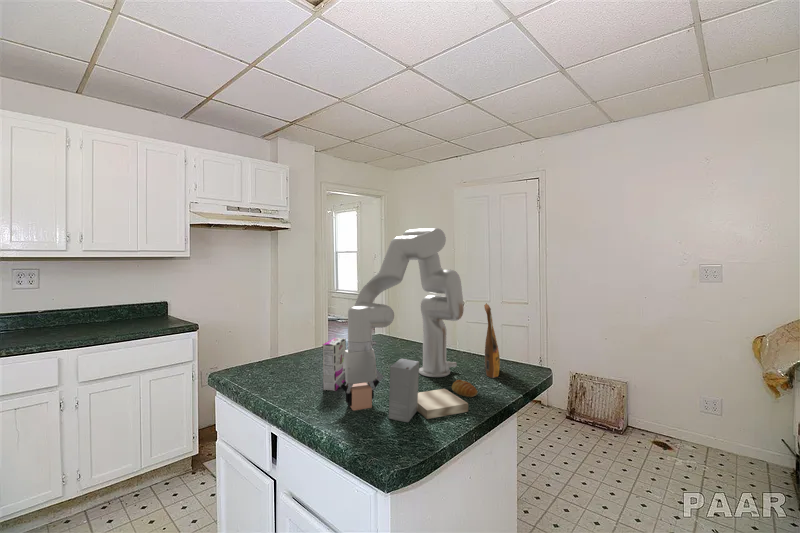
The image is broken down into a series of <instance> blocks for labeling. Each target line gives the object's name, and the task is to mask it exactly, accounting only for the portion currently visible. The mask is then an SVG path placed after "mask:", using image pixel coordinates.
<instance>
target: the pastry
mask: <svg viewBox="0 0 800 533" xmlns="http://www.w3.org/2000/svg"><path fill="white" fill-rule="evenodd" d="M451 390H452V391H453V392H452V393H455V395H456V394H457V395H458V396H459V395H460V396H463V397H466V398H473V397H475V396H477V395H478V392H479V391H478V389H476V387H475V386H474V385H473V384H472V383H470V382H468V381H465V380H462V379H456V380H455V381H453V383H452V385H451Z"/></svg>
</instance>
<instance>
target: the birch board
mask: <svg viewBox="0 0 800 533" xmlns="http://www.w3.org/2000/svg"><path fill="white" fill-rule="evenodd" d="M417 412H418V413H419V414H420V415H421V416H423V417H424V418H425V419H426V420H429V419H435V418H440V417H441V418H442V417H446V416H451V415H457V414H463V413H467V412H469V402H467V401H465V400H463V399H462V398H461V397H459V396H458V395H456V394H454V392H451V391H449V390H448V389H447V388H439V389H433V390H426V391H420V392H419V391H418V402H417Z"/></svg>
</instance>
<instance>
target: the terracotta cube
mask: <svg viewBox="0 0 800 533" xmlns="http://www.w3.org/2000/svg"><path fill="white" fill-rule="evenodd" d="M351 393H352V405H351V406H349V407H350V408H351V410H352V411H359V410H360V411H361V410H365V409H372V406H373V405H372V404H373V399H372V388H371V387H370V386H369V385H368V383H367V382H365V383H357V384H353V386H352V388H351Z"/></svg>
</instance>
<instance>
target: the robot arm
mask: <svg viewBox="0 0 800 533" xmlns="http://www.w3.org/2000/svg"><path fill="white" fill-rule="evenodd" d="M446 241H447V237H446V234H445V232H444V230H442V229H440V228H438V227H432V228H431V227H430V228H429V227H428V228H413V229H408V230H406V231H404V232H403V233H402V235H399V236H396V237H394V238H392V239H391V241H390V242H389V245H388V248H387V250H386V253H385V255H384V258H383V260H382V262H381V266H380V269H379V271H378V272H377V274H375V275H374V276H373V277H372V278H371V279H370V280H369V281H368V282H367V283H366V284H364V286H363V287H362V288H361V289H360V292H359V293H358V296H357V298H356V300H355V303H354V306H352V307H349V308H348V311H347V349H346V350H345V354H344V360H343V371H342V374H341V375H340V376H339V377H338V378H337V379H336V381H335V382H336V384H337V385H339V386H340V387H339V388H341V389H342V390H343V391H344V392H345V403H347V405H348V406H349V407H350V406H351V405H352V393H351V388H352V386H353V384H358V383H367V384H368V385H369V386H370V387H371V388H372V400H373V399H374V396H375V395H374V392H375V390H376V387H377V386H378V385H379V384H380V382H381V381H382V379H384V375H383V374H382V373H381V372H379V370H378V369H377V361H376V355H375V350H374V349H373V346H377V341H376V340H373V328H380V329H381V328H382V329H383V328H387V327H388V326H390V325H391V324H392V323H393V321H395V320H394V319H395V312H394V310H393V308H392V307H391V306H389V305H387V304H383V303H375V300H376V298H377V297H378V296H379V295H380V294H381V293H383V292H385V291H387V290H388V289H391V288H393V287H395V286H397V285H399V284H400V283H402V281H403V279H404V276H405V274H406V272H407V271H406V270H407V268H408V265H409V262H410V261H416V260H417V263H418V268H419V275H420V284H421V287H422V288H421V289H423V291H424V292H426V293H430V294H428V295H426V296H424V297H423V298H422V300H421V302H420V311H421V318H422V367H419V375H421V376H425V377H428V378H429V377H430V378H443V377H447V376H449V375H450V374H451V370H450V369H451V368H456V367H457V365H458V364H457V362H456V361H447V326H446V323H445V322H444V320H445V321H452V322H456V321H459V320H461V319H462V317H463V315H464V311H465V310H464V309H465V308H464V298H463V287H462V279H461V277H460V275H459V273H458V272H457V271H456V270H454V269H448V268H447V269H445V268H444V269H443V268H442V265H441V264H442V263H441V259H440V254H439V252H441V251H442V250H443V249H444V247H445V245H446ZM442 294H444V295H442ZM342 380H346V381H345V384H344V383H342Z"/></svg>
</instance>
